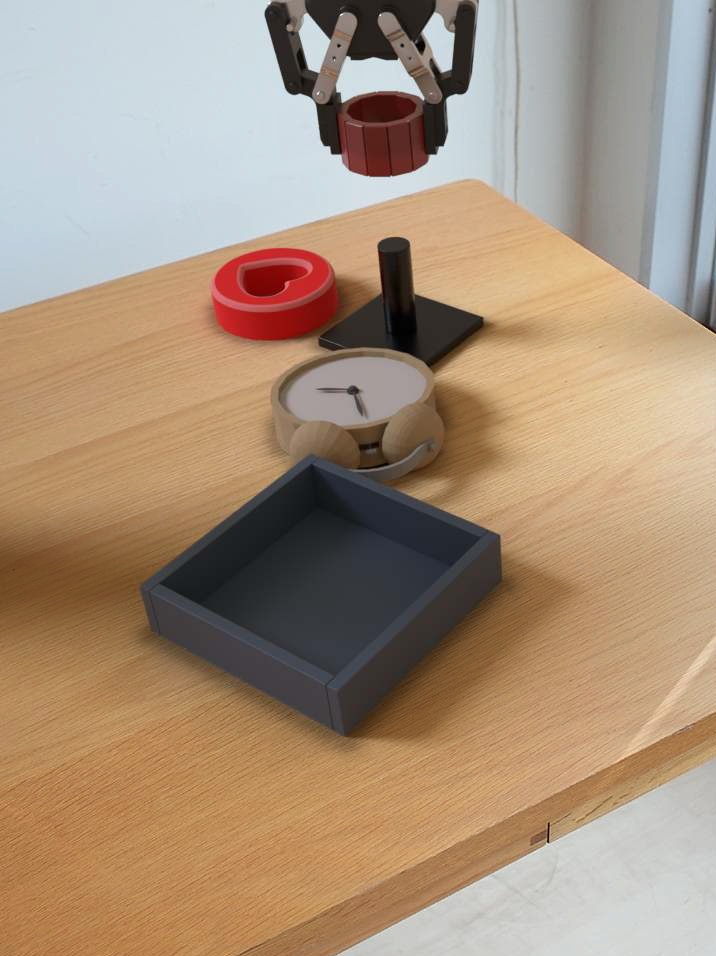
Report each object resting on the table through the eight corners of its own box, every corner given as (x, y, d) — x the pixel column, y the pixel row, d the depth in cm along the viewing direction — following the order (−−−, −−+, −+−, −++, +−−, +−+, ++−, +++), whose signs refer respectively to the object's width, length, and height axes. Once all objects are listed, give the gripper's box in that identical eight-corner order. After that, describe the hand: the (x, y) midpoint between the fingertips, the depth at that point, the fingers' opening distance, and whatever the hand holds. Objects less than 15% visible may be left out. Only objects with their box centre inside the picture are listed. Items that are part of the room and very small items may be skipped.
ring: (325, 164, 91) (318, 114, 89) (379, 133, 95) (375, 84, 93) (393, 184, 88) (388, 133, 86) (447, 151, 92) (443, 101, 90)
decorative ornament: (240, 276, 109) (233, 242, 107) (352, 284, 108) (348, 249, 106) (198, 338, 102) (191, 302, 100) (318, 347, 100) (313, 311, 98)
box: (152, 637, 77) (138, 585, 74) (318, 503, 86) (310, 452, 83) (346, 744, 70) (337, 691, 67) (503, 586, 79) (500, 534, 76)
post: (319, 348, 100) (306, 254, 95) (392, 296, 106) (384, 205, 101) (412, 383, 96) (404, 287, 91) (484, 328, 102) (480, 234, 97)
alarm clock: (415, 335, 96) (462, 418, 83) (422, 397, 98) (469, 487, 85) (260, 361, 94) (284, 450, 81) (271, 424, 96) (296, 520, 83)
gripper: (484, -127, 83) (493, 128, 93) (259, -124, 84) (294, 127, 95) (471, -93, 77) (484, 175, 88) (230, -90, 78) (271, 174, 89)
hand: (385, 149), depth 91 cm, fingers closed on ring, 6 cm apart
